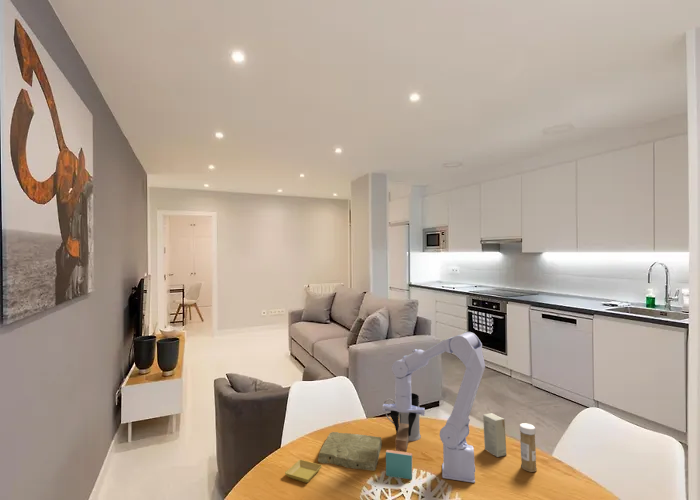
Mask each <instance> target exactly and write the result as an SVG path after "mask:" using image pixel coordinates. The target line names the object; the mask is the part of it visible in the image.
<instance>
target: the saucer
mask: <svg viewBox="0 0 700 500" xmlns="http://www.w3.org/2000/svg"><path fill="white" fill-rule="evenodd" d="M322 467H323V465H322V464H321V463H316V462H312V461H307V460H304V459H299V460H297V461H296V462H295V463H294V464H293V465H292V466H291V467H289V468H288V469H287V470H285V472H284V473H285V476H287V477H288V478H289V479H292V480H296V481H299V482H302V483H306V484H307V483H309V482H310V481H311V480H312V479H313V478H314V477H315V476H316V474H318V472H320V470H321V469H322Z"/></svg>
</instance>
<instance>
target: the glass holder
mask: <svg viewBox="0 0 700 500" xmlns="http://www.w3.org/2000/svg"><path fill="white" fill-rule="evenodd" d="M419 397H420V396H419V395H418V394H416V393H414V392H413V393H412V392H411V400H412V405H413V406H417V407H420V399H419ZM387 401H392V402H393V404H395V400H393V399H392V398H387V399H385V400H384V403H383V404H386V402H387ZM384 413H385V416H386V417H387V420H389V422H391V423H392V424H393V425H394V423H393V420H392V419H391V417H389V416H388V414H387V411H386V412H384ZM408 416H409V413H401V412H399V424H400V423H404V424H409V422H408ZM420 428H421V427H420V414H416V418H415V421H414V423H413V425H412V429H411V436H409V441H408V442H416V441H418V440H420V439H421V437H422V436H421V434H420Z"/></svg>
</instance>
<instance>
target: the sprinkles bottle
mask: <svg viewBox="0 0 700 500" xmlns="http://www.w3.org/2000/svg"><path fill="white" fill-rule="evenodd" d="M519 433H520V458H521V461H520V462H521V463H520V464H521V465H520V467H521V469H522V470H524V471H526V472H528V473H529V472H530V473H534V472H536V471H537V469H538V468H537V450H536V436H535V435H536V427H535V426H534V425H533V424H531V423H525V422H522V423H519Z"/></svg>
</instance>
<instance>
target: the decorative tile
mask: <svg viewBox="0 0 700 500" xmlns="http://www.w3.org/2000/svg"><path fill="white" fill-rule="evenodd" d="M382 441H383V440H382V437H380V436H373V435H367V434H357V433H355V434H354V433H347V432H338V431H332V432H329V434H328V436H327V437H326V440H325V441H324V443H323V445H322V446H321V449H320V451H319V453H318V458H317V462H318V464H332V465H337V466H342V467H344V468H346V469H349V468H350V469H356V470H363V471H373V472H374V471H376V470H377V469H376V468H377V465H378V462H379V458H380V453H381V449H382V445H383V443H382Z"/></svg>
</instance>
